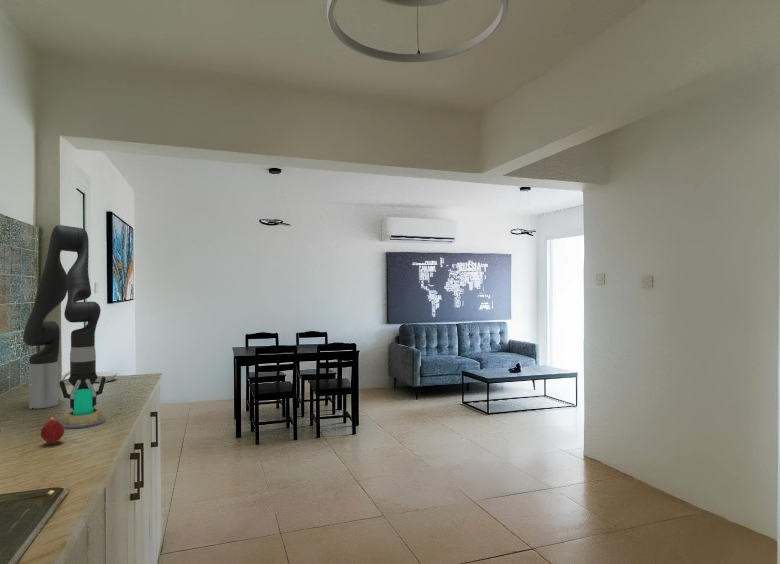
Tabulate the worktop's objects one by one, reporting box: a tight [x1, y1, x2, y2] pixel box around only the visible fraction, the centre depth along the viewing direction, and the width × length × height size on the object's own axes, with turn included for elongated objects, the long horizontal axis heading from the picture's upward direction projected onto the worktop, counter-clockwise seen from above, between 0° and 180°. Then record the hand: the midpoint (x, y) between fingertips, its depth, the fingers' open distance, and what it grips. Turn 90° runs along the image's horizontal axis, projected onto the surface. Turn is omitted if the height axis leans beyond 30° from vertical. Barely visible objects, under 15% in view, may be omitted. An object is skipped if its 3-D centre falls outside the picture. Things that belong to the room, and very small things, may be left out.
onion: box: [40, 416, 65, 445], centre depth 148 cm, size 6×6×8 cm
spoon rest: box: [59, 370, 118, 383], centre depth 236 cm, size 24×12×7 cm, turn 125°
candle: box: [72, 388, 94, 415], centre depth 169 cm, size 6×6×12 cm
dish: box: [60, 415, 106, 430], centre depth 169 cm, size 13×13×1 cm
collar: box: [63, 407, 103, 425], centre depth 169 cm, size 11×11×3 cm
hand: (83, 408), depth 169 cm, fingers closed on candle, 5 cm apart
